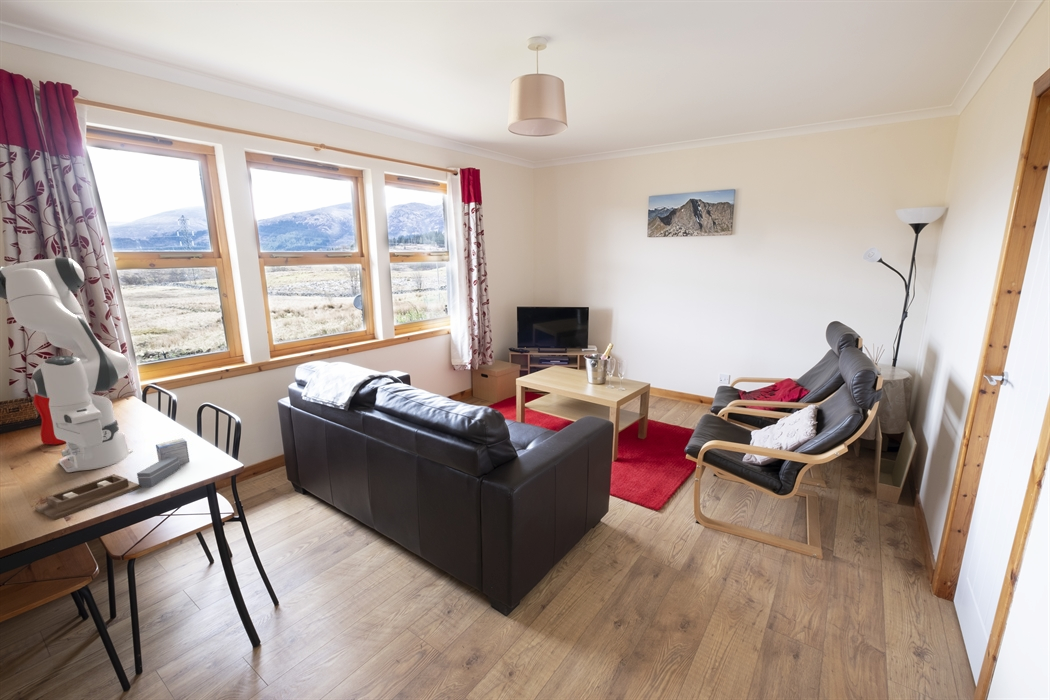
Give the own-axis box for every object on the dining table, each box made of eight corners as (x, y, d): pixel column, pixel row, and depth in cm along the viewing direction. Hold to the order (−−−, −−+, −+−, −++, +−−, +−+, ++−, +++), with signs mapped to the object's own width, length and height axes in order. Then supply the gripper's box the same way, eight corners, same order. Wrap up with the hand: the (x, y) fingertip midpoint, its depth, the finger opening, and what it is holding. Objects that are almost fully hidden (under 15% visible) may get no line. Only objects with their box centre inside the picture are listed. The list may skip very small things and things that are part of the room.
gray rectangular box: (139, 488, 143) (136, 473, 142) (168, 470, 155) (166, 457, 154) (152, 487, 143) (149, 473, 142) (180, 470, 155) (178, 457, 154)
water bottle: (87, 435, 187) (76, 377, 183) (58, 446, 177) (45, 384, 172) (68, 435, 188) (56, 376, 184) (37, 445, 178) (24, 383, 173)
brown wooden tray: (35, 510, 130) (33, 498, 129) (120, 480, 148) (118, 470, 147) (55, 519, 125) (52, 508, 124) (140, 487, 143) (138, 477, 142)
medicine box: (186, 460, 163) (183, 437, 161) (190, 463, 160) (186, 440, 159) (159, 467, 157) (155, 444, 155) (162, 471, 154) (158, 447, 153)
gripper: (41, 410, 133) (51, 454, 135) (75, 419, 124) (84, 466, 127) (69, 404, 138) (78, 447, 141) (104, 412, 130) (112, 457, 132)
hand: (81, 456), depth 134 cm, fingers open, 6 cm apart
